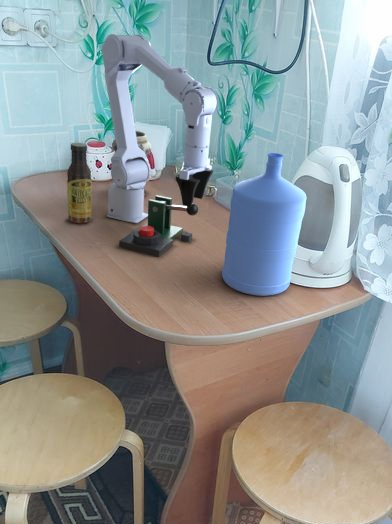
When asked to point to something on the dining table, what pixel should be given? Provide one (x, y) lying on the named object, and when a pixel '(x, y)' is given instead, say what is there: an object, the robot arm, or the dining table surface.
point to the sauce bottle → (79, 185)
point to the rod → (182, 208)
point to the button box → (146, 243)
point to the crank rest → (186, 237)
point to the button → (146, 231)
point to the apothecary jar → (142, 144)
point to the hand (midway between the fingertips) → (192, 201)
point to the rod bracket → (161, 218)
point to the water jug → (263, 232)
